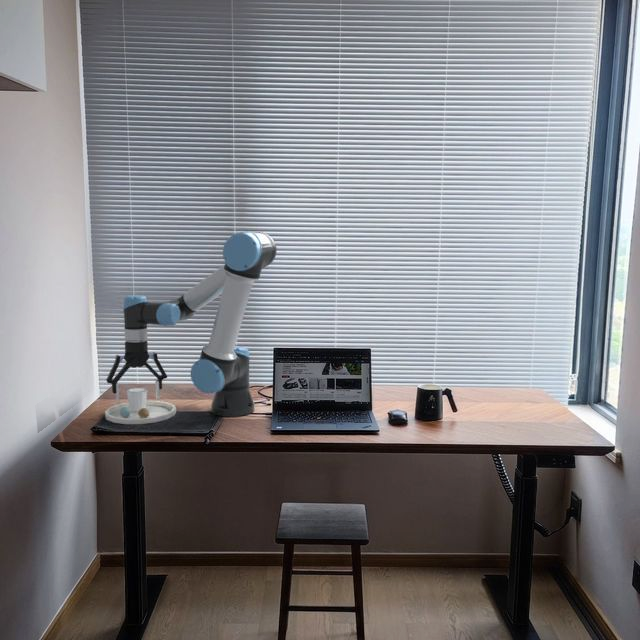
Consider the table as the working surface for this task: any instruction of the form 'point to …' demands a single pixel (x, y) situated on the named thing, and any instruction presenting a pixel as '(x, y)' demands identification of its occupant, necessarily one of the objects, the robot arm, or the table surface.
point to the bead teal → (125, 412)
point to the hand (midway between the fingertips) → (137, 400)
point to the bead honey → (143, 413)
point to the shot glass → (137, 398)
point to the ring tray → (155, 408)
